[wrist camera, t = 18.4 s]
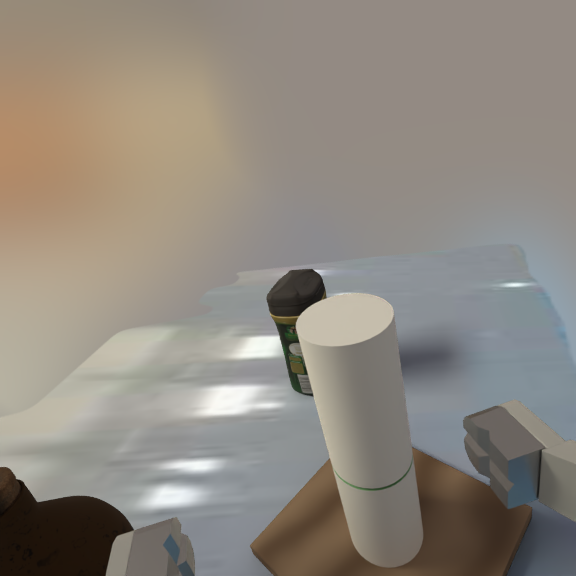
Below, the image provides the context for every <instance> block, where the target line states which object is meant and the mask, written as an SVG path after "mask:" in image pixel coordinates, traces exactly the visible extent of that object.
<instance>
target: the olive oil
mask: <svg viewBox="0 0 576 576" xmlns="http://www.w3.org/2000/svg"><path fill="white" fill-rule="evenodd" d="M131 531H134V529H133V527H132V526H131V524H130V523H129V521H128V520H127V519H126V517H125V516H124V515H123V514H122V513H121V512H120V511H119V510H117V509H116V508H115V507H113V506H112V505H110V504H108V503H106V502H105V501H102V500H100V499H97V498H94V497H89V496H70V497H63V498H58V499H53V500H48V501H43V502H37V501H36V500H35V498H34V497H33V495H32V494H31V492H30V491H29V490H28V488H27V487H26V486H25V484H24V482H23V481H21V480H18V479H16V477H15V475H14V474H13V472H12V471H11V470H10V469H9V468H7V467H0V576H106V571H107V567H108V562H109V558H110V554H111V549H112V545H113V542H114V541H115V539H116V537H117V536H119V535H122V534H125V533H128V532H131Z"/></svg>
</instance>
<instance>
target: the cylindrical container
mask: <svg viewBox="0 0 576 576" xmlns="http://www.w3.org/2000/svg"><path fill="white" fill-rule="evenodd" d="M296 331H297V334H298V338H299V342H300V346H301V350H302V353H303V357H304V361H305V365H306V369H307V372H308V376H309V380H310V384H311V388H312V391H313V395H314V399H315V403H316V407H317V410H318V414H319V418H320V422H321V426H322V429H323V433H324V437H325V441H326V445H327V448H328V452H329V456H330V460H331V464H332V467H333V471H334V475H335V479H336V482H337V486H338V490H339V494H340V497H341V501H342V505H343V509H344V512H345V516H346V520H347V524H348V528H349V531H350V535H351V539H352V542H353V544H354V546H355V548H356V550H357V551H358V552H359V554H360V555H361V556H362V557H364V558H365V559H366V560H367V561H369V562H371V563H372V564H375V565H377V566H380V567H387V568H392V567H398V566H402V565H404V564H406V563H408V562H409V561H411V560H412V559H413V558H414V557H415V556H416V555H417V553H418V552H419V550H420V548H421V545H422V541H423V526H422V519H421V511H420V504H419V497H418V489H417V482H416V474H415V467H414V460H413V452H412V445H411V438H410V430H409V423H408V415H407V408H406V400H405V393H404V385H403V378H402V370H401V363H400V355H399V348H398V340H397V333H396V325H395V318H394V311H393V308H392V306H391V305H390V304H389V303H388V302H387V301H386V300H384V299H382V298H380V297H378V296H374V295H370V294H362V293H352V294H343V295H337V296H333V297H329V298H326V299H324V300H321V301H319V302H317V303H315V304H313V305H311V306H310V307H308V308H307V309H306V310H305V311H304V312H302V314H301V315H300V316H299V317H298V319H297V322H296Z"/></svg>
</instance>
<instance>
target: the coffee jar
mask: <svg viewBox="0 0 576 576" xmlns="http://www.w3.org/2000/svg"><path fill="white" fill-rule="evenodd" d="M326 298H327V297H326V291H325V287H324V283H323V280H322V277H321V276H320V275H319V274H318V273H317V272H315V271H314V270H313V269H302V270H291V271H289V272H288V273H287V274H286V275H284V276H283V277H282V278H281V279H280V280H279V281H278V282H277V283H276V284H275V285H274V286H273V288H272V289H271V290H270V292H269V293H268V295H267V302H268V306H269V311H270V314H271V317H272V318H273V320H274V321H275V323H276V326H277V329H278V332H279V336H280V340H281V344H282V347H283V351H284V355H285V360H286V364H287V369H288V373H289V377H290V381H291V385H292V387H293V389H294V390H295V391H297V392H299V393H303V394H307V395H313V391H312V388H311V384H310V380H309V376H308V372H307V369H306V365H305V361H304V357H303V353H302V350H301V346H300V342H299V338H298V334H297V331H296V322H297V319H298V317H299V316H300V315H301V314H302V312H304V311H305V310H306V309H307V308H308V307H310V306H311V305H313V304H315V303H317V302H319V301H321V300H324V299H326Z"/></svg>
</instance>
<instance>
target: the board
mask: <svg viewBox="0 0 576 576" xmlns="http://www.w3.org/2000/svg"><path fill="white" fill-rule="evenodd" d="M412 452H413V460H414V467H415V474H416V482H417V489H418V497H419V504H420V511H421V519H422V526H423V541H422V545H421V548H420V550H419V552H418V553H417V555H416V556H415V557H414V558H413V559H412V560H411V561H409V562H408V563H406V564H404V565H402V566H398V567H392V568H387V567H380V566H377V565H375V564H372V563H371V562H369V561H367V560H366V559H365V558H364V557H362V556H361V555H360V554H359V552H358V551H357V550H356V548H355V546H354V544H353V542H352V539H351V535H350V531H349V528H348V524H347V520H346V516H345V512H344V509H343V505H342V501H341V497H340V494H339V490H338V486H337V482H336V479H335V475H334V471H333V467H332V464H331V460H330V458H329V460H328V461H327V462H326V463H325V464H324V465H323V466H322V467H321V468H320V469H319V471H318V472H317V473H316V474H315V475H314V476H313V477H312V478H311V479H310V480H309V481H308V483H307V484H306V485H305V486H304V487H303V488H302V489H301V490H300V491H299V492H298V494H297V495H296V496H295V497H294V498H293V499H292V500H291V501H290V502H289V503H288V504H287V506H286V507H285V508H284V509H283V510H282V511H281V512H280V513H279V514H278V515H277V517H276V518H275V519H274V520H273V521H272V522H271V523H270V524H269V525H268V526H267V527H266V529H265V530H264V531H263V532H262V533H261V534H260V535H259V536H258V537H257V538H256V539H255V541H254V542H253V543H252V544H251V545H250V547H251V549H252V552H253V554H254V555H255V556H256V557H257V558H258V559H259V560H260V561H261V562H262V564H263V565H264V566H265V567H266V568H267V569H268V570H269V571H270V572H271V573H272V574H273V575H274V576H506V575H507V572H508V570H509V568H510V566H511V563H512V561H513V559H514V556H515V554H516V552H517V550H518V547H519V545H520V543H521V540H522V538H523V536H524V534H525V531H526V529H527V527H528V525H529V522H530V520H531V518H532V507H530V506H528V505H526V504H523V505H520V506H517V507H514V508H511V509H507V508H506V507H505V505H504V504H503V503H502V502H501V500H500V499H499V498H498V496H497V495H496V494H495V493H494V491H493V490H492V489H491V488H490V486H488V485H486V484H484V483H482V482H480V481H478V480H476V479H474V478H472V477H470V476H468V475H466V474H464V473H462V472H460V471H458V470H456V469H454V468H452V467H450V466H448V465H446V464H444V463H442V462H440V461H438V460H436V459H434V458H432V457H430V456H428V455H426V454H424V453H422V452H420V451H418V450H416V449H414V448H412Z"/></svg>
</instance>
